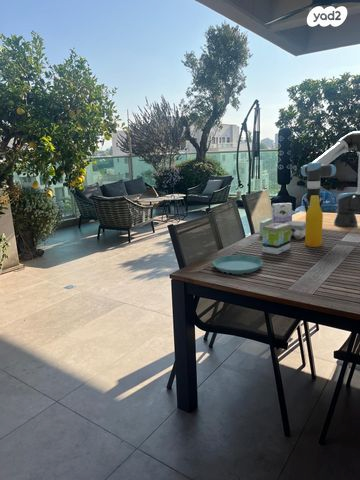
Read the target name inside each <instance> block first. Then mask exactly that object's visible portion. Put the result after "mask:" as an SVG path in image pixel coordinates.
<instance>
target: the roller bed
mask: <svg viewBox="0 0 360 480" xmlns="http://www.w3.org/2000/svg"><path fill="white" fill-rule="evenodd" d="M305 228H306V227H305ZM305 228H304V229H302V230H299V229H291V238H292V237H293V238H294V239H296V240H301V239H303V238H305Z"/></svg>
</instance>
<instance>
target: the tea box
mask: <svg viewBox="0 0 360 480" xmlns="http://www.w3.org/2000/svg"><path fill="white" fill-rule="evenodd" d="M291 239H292V237H291V224H284V223H274V224H271V225H268V226H264V227H263V236H262V253H266V254H267V253H268V254H272V255H279V254H281V253H283V252H285V251H288V250H290V249H291Z"/></svg>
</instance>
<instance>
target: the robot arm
mask: <svg viewBox="0 0 360 480" xmlns="http://www.w3.org/2000/svg"><path fill="white" fill-rule="evenodd" d="M351 150H355V151H356V152H355V153H356V154H358V167H357V189H356V191H355V192H345V193H344V192H343V193H340V194H338V196H337V207H336V208H337V209H336V210H337V211H336V217H335V219H334V221H333V225H334V226H337V227H343V228H344V227H345V228H346V227H348V228H350V227H352V228H353V227H357V226H358V220H357V217H356V213H360V130H355V131H352V132H349V133H347V134H345V135H344V136H343V137H341V138H340V139H338V140H337V141H336V142H335V144H334V145H332V146H331V147H330V148H328V149H327V150H326V151H325V152H324V153H323V154H320V156H318V157H317V158H316V159H315V160H313V161H312V162H309V163H308V164H304V165H302V166H301V168H300V173H301V175H302V177H307V178H306V179H307V183H306V185H307V186H306V188H307V189H306V197H305V198H303V199H302V202H303V205H304V208H305V209H304V210H305V214H306V213H307V210H308V208H309V206H310V199H311V196H312V195H318V196H319V204H320V208H321V209H322V206H323V203H324V201H325V199H324V198H322V197H321V178H330V177H334V176H335V175H336V173H337V168H336V165H335V164H330V163H331V162H333V161H334V160H336V158H338V157H339V156H340V155H342V154H345V153H347V152H349V151H351ZM356 225H357V226H356Z"/></svg>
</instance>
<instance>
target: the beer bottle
mask: <svg viewBox="0 0 360 480" xmlns="http://www.w3.org/2000/svg"><path fill="white" fill-rule="evenodd" d="M319 203H320V199H319V196H318V195H312V196H311V199H310V206H309V205H308V210H307V213H306V212H305V222H306V228H305V236H304V239H305V240H304V245H305V246H307V247H310V248H318V247H322V244H323V218H324V215H323V211H322V207H321V208H320V204H319Z"/></svg>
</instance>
